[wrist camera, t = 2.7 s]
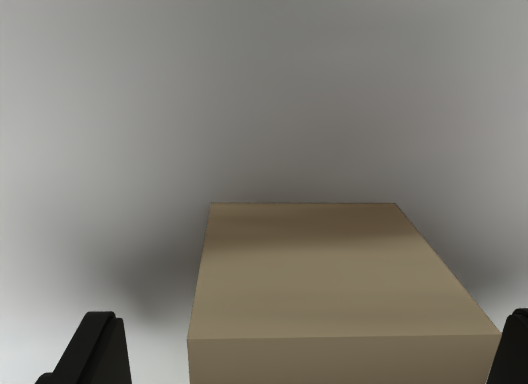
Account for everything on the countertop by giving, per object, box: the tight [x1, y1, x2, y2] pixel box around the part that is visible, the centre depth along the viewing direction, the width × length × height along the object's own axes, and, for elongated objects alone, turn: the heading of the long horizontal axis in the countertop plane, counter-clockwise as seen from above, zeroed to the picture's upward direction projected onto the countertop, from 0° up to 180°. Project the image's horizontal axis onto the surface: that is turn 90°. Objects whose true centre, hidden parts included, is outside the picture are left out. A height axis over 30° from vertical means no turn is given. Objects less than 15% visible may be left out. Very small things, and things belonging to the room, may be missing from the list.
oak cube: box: [187, 203, 502, 384], centre depth 10 cm, size 5×5×5 cm
